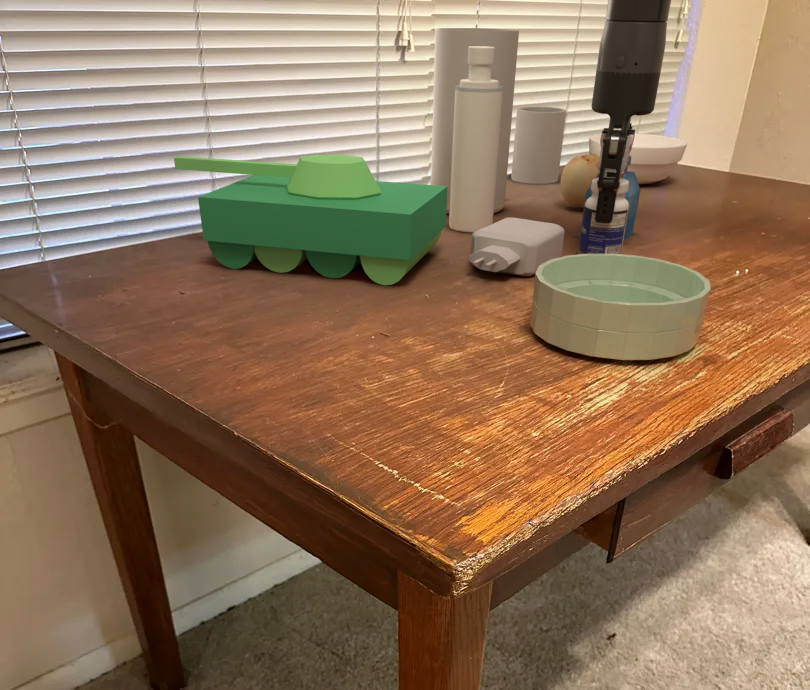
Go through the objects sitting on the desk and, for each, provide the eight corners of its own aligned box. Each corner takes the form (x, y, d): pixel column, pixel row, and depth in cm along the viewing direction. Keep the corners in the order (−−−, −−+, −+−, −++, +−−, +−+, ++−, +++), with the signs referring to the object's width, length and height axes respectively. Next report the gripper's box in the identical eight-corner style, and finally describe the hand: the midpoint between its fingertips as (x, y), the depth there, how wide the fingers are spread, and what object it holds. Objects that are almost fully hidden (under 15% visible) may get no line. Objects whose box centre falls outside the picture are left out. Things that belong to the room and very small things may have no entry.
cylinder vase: (432, 199, 133) (437, 27, 118) (503, 201, 132) (518, 29, 117) (427, 215, 123) (432, 30, 108) (504, 218, 122) (520, 31, 107)
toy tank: (206, 139, 106) (448, 154, 98) (217, 231, 113) (444, 252, 105) (136, 159, 92) (411, 178, 84) (153, 262, 99) (409, 289, 91)
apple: (583, 200, 133) (591, 150, 129) (621, 210, 127) (630, 158, 123) (546, 206, 129) (552, 154, 125) (583, 216, 123) (591, 162, 119)
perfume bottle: (620, 243, 110) (636, 151, 103) (579, 237, 113) (592, 147, 106) (632, 233, 115) (648, 145, 108) (593, 228, 117) (606, 142, 110)
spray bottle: (451, 221, 120) (460, 31, 105) (493, 223, 119) (508, 32, 104) (446, 231, 114) (455, 33, 100) (490, 233, 114) (505, 34, 99)
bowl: (627, 169, 158) (633, 130, 154) (698, 184, 146) (708, 142, 142) (564, 178, 150) (569, 137, 146) (634, 194, 138) (642, 150, 134)
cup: (521, 184, 144) (528, 113, 137) (504, 175, 151) (510, 107, 144) (565, 183, 146) (574, 112, 139) (546, 174, 153) (554, 106, 146)
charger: (446, 278, 95) (499, 251, 106) (512, 291, 91) (560, 262, 102) (448, 239, 92) (502, 215, 103) (516, 250, 89) (565, 225, 99)
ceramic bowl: (716, 327, 82) (730, 271, 79) (665, 380, 70) (679, 317, 67) (569, 297, 90) (576, 245, 86) (501, 340, 78) (507, 282, 75)
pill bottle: (580, 252, 106) (591, 174, 100) (622, 256, 104) (635, 177, 99) (574, 262, 102) (585, 182, 96) (617, 267, 100) (631, 186, 94)
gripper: (659, 72, 84) (631, 232, 93) (662, 64, 95) (636, 207, 105) (591, 70, 85) (570, 227, 95) (602, 62, 96) (582, 203, 106)
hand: (605, 216), depth 100 cm, fingers closed on pill bottle, 5 cm apart
